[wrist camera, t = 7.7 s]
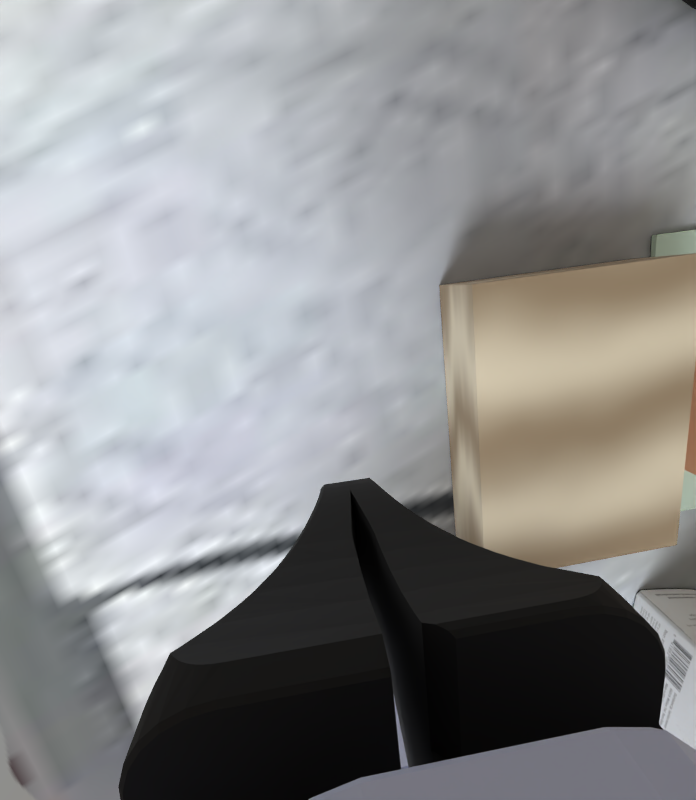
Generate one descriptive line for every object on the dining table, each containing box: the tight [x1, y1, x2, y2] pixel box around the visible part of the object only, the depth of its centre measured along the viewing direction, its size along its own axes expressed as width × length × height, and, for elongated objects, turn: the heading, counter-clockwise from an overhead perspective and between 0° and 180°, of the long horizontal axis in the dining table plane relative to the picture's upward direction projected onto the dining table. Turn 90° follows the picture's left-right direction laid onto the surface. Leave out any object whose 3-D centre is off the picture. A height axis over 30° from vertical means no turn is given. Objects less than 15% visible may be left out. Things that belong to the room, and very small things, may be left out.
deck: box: [439, 253, 696, 568], centre depth 20 cm, size 14×10×4 cm
